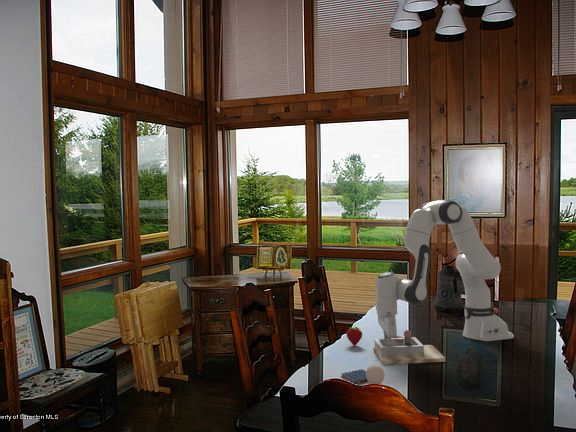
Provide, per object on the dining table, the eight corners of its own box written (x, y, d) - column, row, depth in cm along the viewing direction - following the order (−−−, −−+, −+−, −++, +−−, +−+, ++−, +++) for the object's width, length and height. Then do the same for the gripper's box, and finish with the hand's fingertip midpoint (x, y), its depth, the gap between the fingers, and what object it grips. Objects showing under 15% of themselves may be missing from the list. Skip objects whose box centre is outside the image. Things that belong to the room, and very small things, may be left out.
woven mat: (354, 387, 187) (354, 381, 187) (339, 378, 197) (339, 372, 197) (378, 381, 192) (378, 376, 192) (363, 373, 201) (362, 368, 201)
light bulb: (364, 393, 180) (363, 362, 180) (382, 391, 181) (381, 361, 180) (368, 400, 174) (367, 368, 173) (387, 399, 174) (386, 367, 174)
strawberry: (348, 342, 240) (348, 321, 239) (364, 344, 236) (363, 322, 236) (344, 346, 234) (343, 324, 234) (360, 348, 231) (359, 326, 231)
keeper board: (431, 348, 227) (431, 323, 227) (445, 361, 209) (445, 334, 209) (373, 350, 227) (372, 325, 226) (382, 364, 209) (381, 337, 208)
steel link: (415, 346, 226) (415, 337, 226) (424, 355, 213) (423, 346, 213) (374, 347, 226) (374, 338, 226) (381, 357, 213) (380, 347, 213)
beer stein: (439, 304, 310) (438, 263, 308) (472, 308, 298) (471, 265, 297) (429, 310, 296) (428, 267, 295) (463, 314, 285) (462, 269, 284)
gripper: (400, 315, 214) (400, 348, 214) (388, 304, 234) (389, 334, 235) (384, 315, 214) (385, 348, 214) (375, 305, 234) (375, 334, 235)
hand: (387, 341), depth 225 cm, fingers open, 3 cm apart
